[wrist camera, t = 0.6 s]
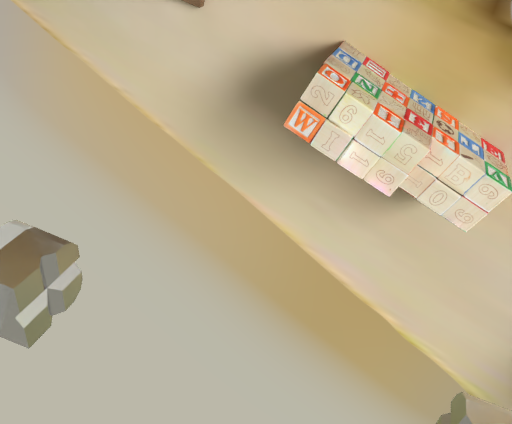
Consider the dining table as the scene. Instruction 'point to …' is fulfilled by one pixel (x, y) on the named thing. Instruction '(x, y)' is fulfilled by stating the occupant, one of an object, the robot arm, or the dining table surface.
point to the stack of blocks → (399, 139)
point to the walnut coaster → (195, 2)
